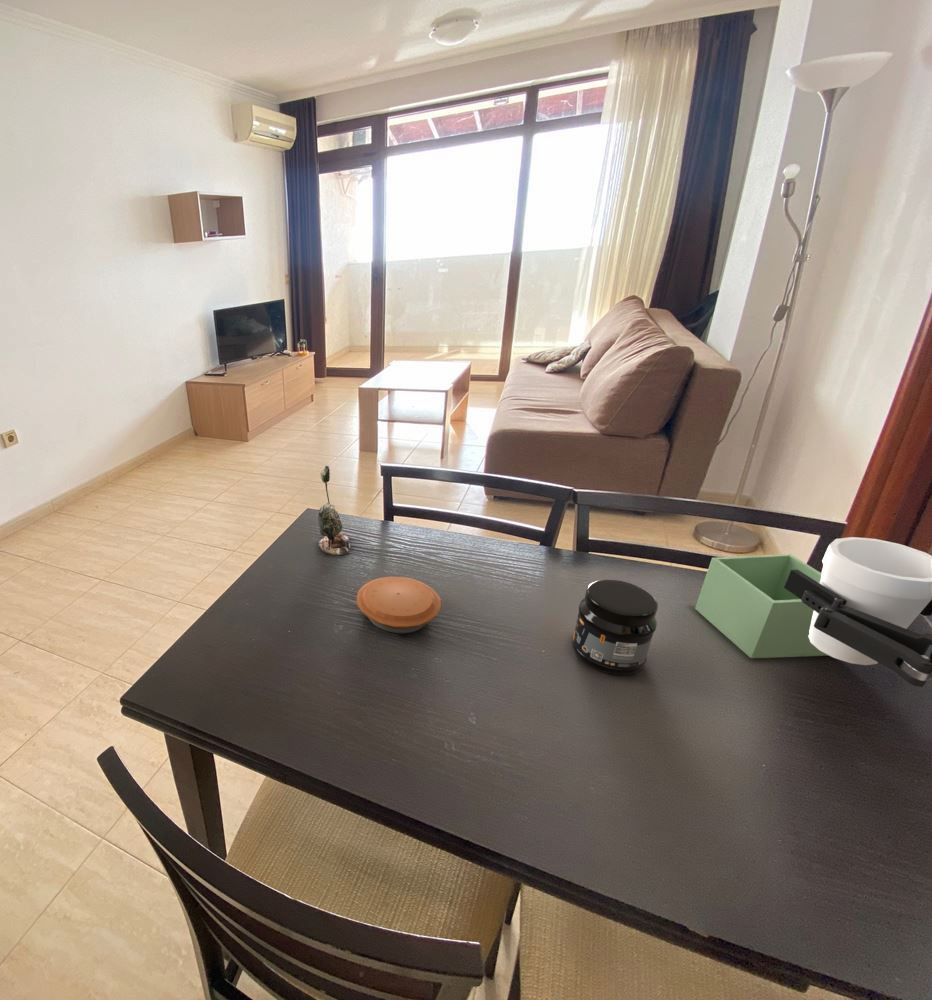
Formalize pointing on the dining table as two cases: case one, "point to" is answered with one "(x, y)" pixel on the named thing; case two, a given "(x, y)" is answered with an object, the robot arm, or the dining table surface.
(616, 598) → the supplement container
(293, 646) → the dining table surface
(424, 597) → the pie
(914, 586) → the foam cup
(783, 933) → the dining table surface
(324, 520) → the plant with pod
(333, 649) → the dining table surface
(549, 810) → the dining table surface
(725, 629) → the open green box
